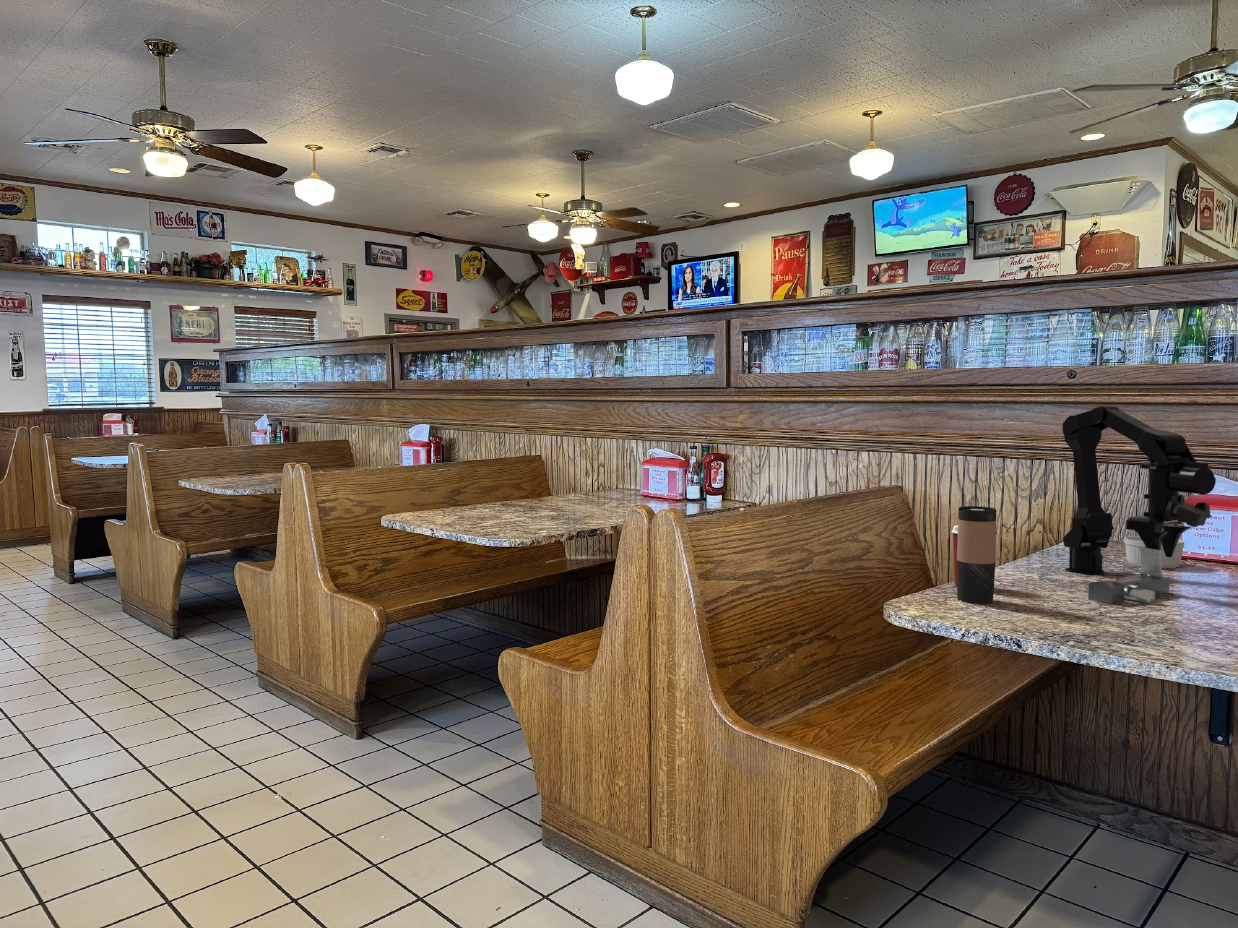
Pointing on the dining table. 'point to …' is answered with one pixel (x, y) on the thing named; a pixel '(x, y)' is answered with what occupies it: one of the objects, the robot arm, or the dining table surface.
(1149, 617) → the dining table surface
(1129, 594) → the pin
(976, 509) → the travel mug
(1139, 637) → the dining table surface
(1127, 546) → the ramekin
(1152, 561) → the keeper flap
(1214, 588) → the dining table surface
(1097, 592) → the hitch bar
